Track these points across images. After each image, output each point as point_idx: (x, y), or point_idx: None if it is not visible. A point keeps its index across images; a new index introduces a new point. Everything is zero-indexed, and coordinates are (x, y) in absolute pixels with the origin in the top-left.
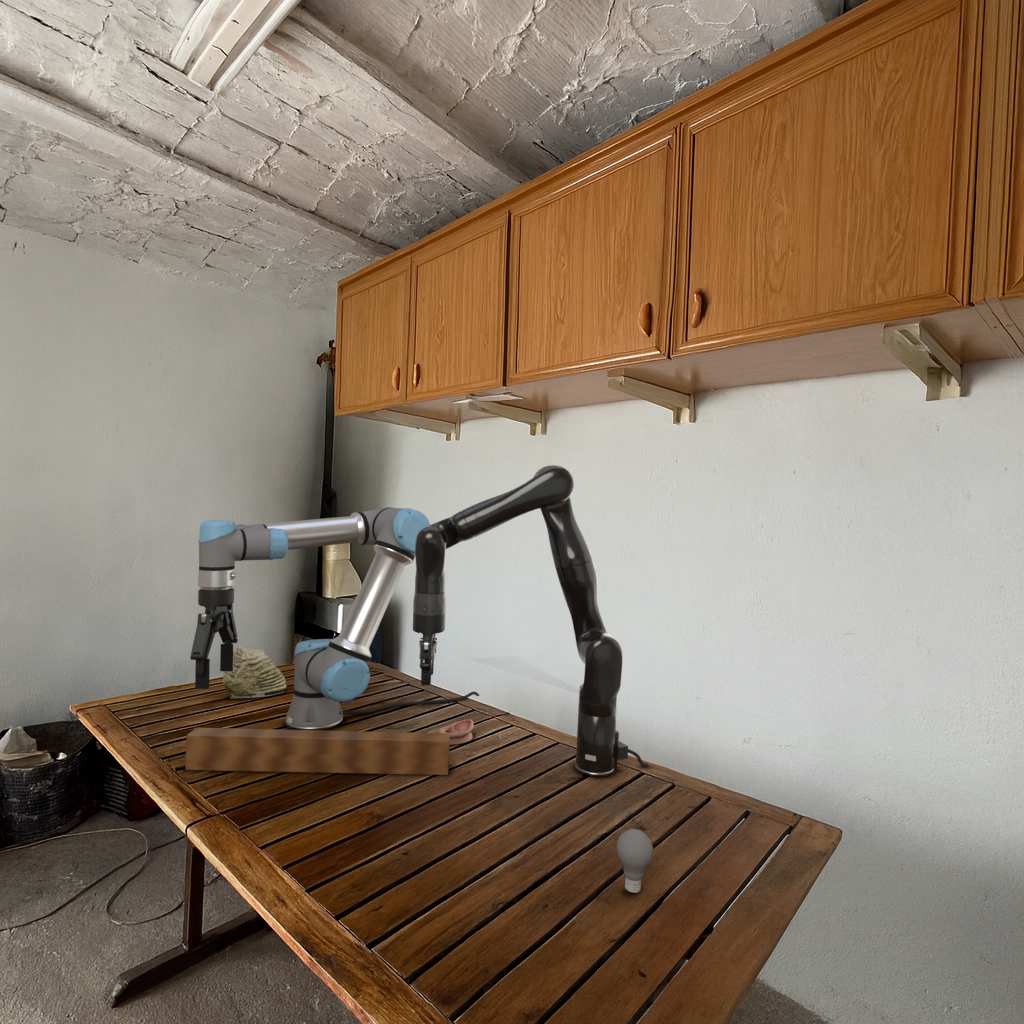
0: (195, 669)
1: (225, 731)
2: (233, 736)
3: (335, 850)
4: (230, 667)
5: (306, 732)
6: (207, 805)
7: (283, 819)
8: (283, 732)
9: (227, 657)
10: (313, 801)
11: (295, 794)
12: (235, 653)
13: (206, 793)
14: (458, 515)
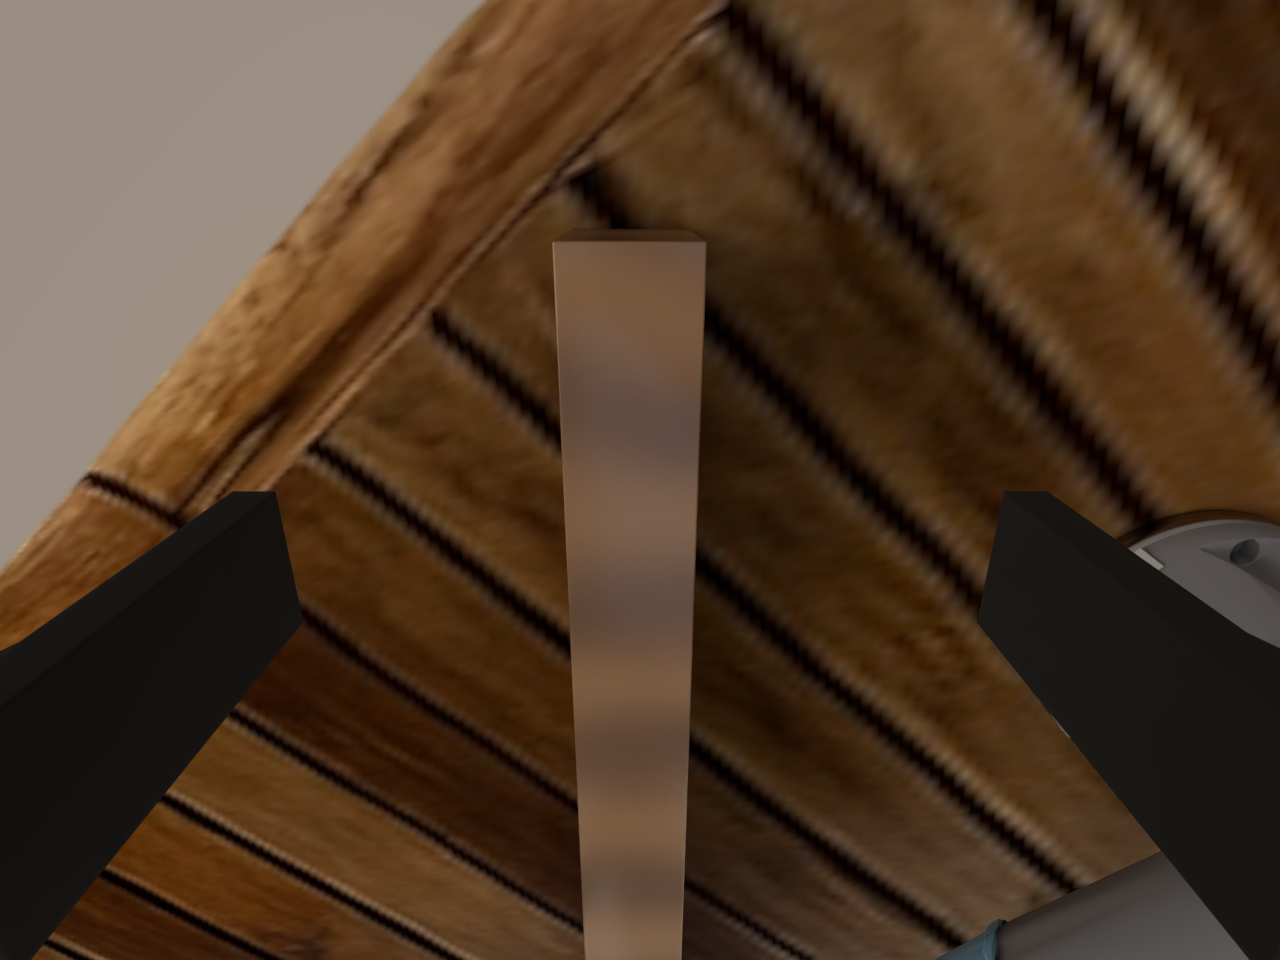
0: (36, 630)
1: (643, 460)
2: (567, 531)
3: (103, 894)
4: (1003, 639)
5: (651, 830)
6: (252, 480)
7: (225, 745)
8: (645, 742)
9: (1099, 694)
10: (365, 794)
11: (405, 735)
12: None
13: (350, 434)
14: None
